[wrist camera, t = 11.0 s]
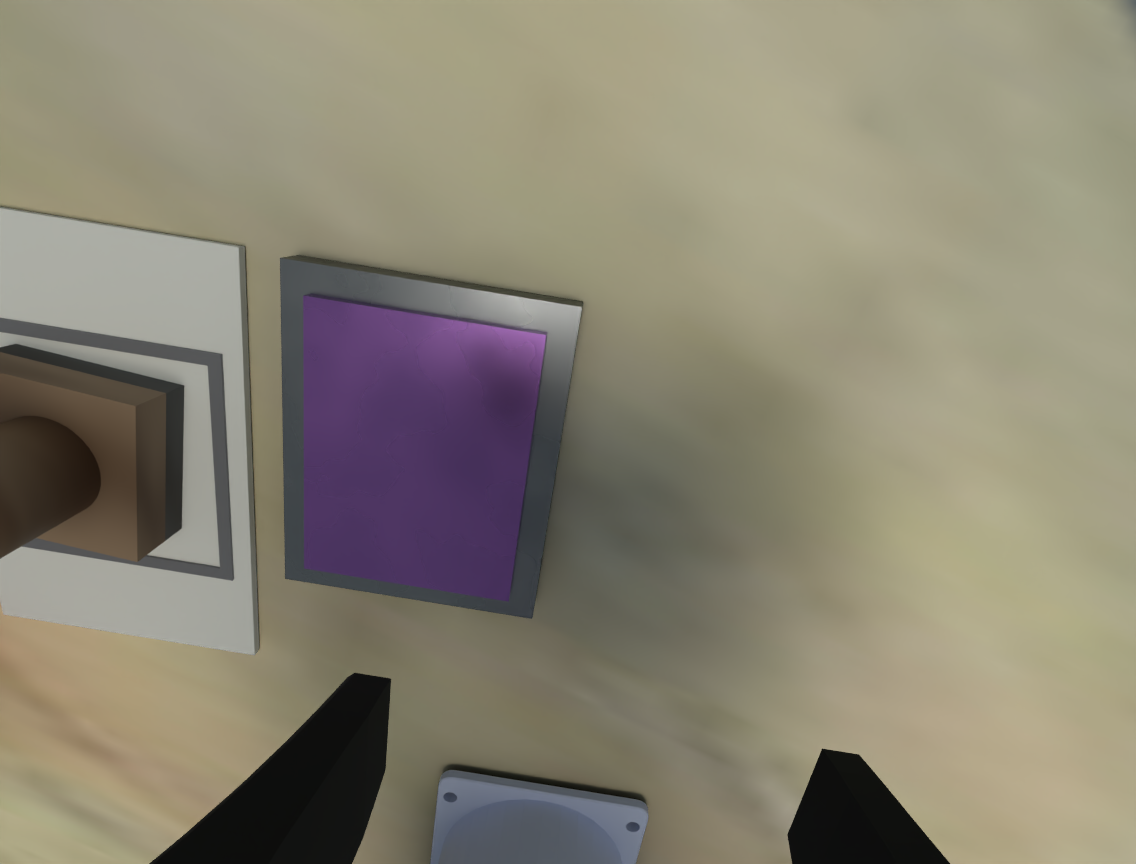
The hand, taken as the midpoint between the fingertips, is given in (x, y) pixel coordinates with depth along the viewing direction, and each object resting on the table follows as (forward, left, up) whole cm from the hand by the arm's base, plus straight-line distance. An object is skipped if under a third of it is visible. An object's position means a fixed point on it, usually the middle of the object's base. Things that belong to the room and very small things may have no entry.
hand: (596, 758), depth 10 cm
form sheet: (-1, +16, -9) cm, 18 cm away
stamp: (0, +16, -9) cm, 18 cm away
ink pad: (+1, +6, -9) cm, 11 cm away
